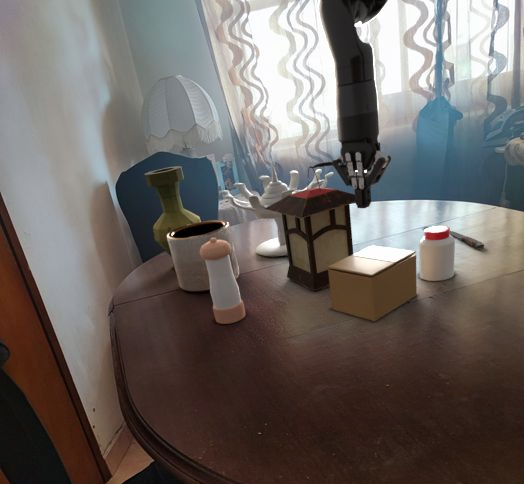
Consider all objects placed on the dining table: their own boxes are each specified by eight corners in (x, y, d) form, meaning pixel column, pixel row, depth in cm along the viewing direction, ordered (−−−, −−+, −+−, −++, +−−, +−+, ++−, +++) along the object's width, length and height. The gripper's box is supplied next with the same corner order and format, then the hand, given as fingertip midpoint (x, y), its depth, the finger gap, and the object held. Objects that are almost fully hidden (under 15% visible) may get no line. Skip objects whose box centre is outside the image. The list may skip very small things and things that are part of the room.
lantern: (395, 267, 120) (391, 142, 105) (311, 298, 111) (294, 167, 97) (353, 253, 135) (344, 142, 121) (275, 279, 127) (256, 164, 112)
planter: (173, 283, 139) (159, 231, 132) (227, 266, 144) (217, 216, 137) (190, 300, 124) (175, 243, 117) (249, 281, 129) (238, 225, 122)
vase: (159, 266, 158) (132, 174, 144) (203, 253, 162) (182, 163, 148) (169, 278, 144) (140, 178, 130) (217, 264, 148) (195, 166, 134)
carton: (374, 321, 95) (371, 274, 91) (332, 309, 104) (327, 266, 99) (416, 295, 103) (416, 251, 98) (373, 286, 111) (371, 245, 107)
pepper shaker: (215, 326, 107) (195, 245, 98) (216, 313, 113) (197, 237, 104) (245, 320, 107) (228, 239, 98) (245, 308, 113) (229, 231, 104)
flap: (371, 276, 91) (371, 274, 91) (328, 268, 99) (328, 266, 99) (394, 264, 94) (394, 262, 94) (350, 257, 103) (350, 255, 103)
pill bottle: (438, 283, 106) (438, 236, 101) (412, 276, 112) (411, 232, 107) (461, 273, 109) (462, 227, 104) (435, 266, 115) (435, 223, 110)
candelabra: (252, 277, 132) (233, 178, 119) (222, 250, 162) (204, 168, 149) (358, 247, 139) (351, 150, 126) (311, 226, 169) (301, 146, 156)
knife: (422, 225, 144) (438, 222, 144) (422, 229, 145) (438, 226, 145) (467, 247, 120) (486, 243, 120) (467, 252, 120) (486, 247, 120)
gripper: (400, 104, 81) (403, 203, 90) (343, 111, 91) (350, 201, 99) (373, 111, 78) (378, 214, 86) (316, 118, 87) (326, 210, 95)
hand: (363, 207), depth 92 cm, fingers closed
